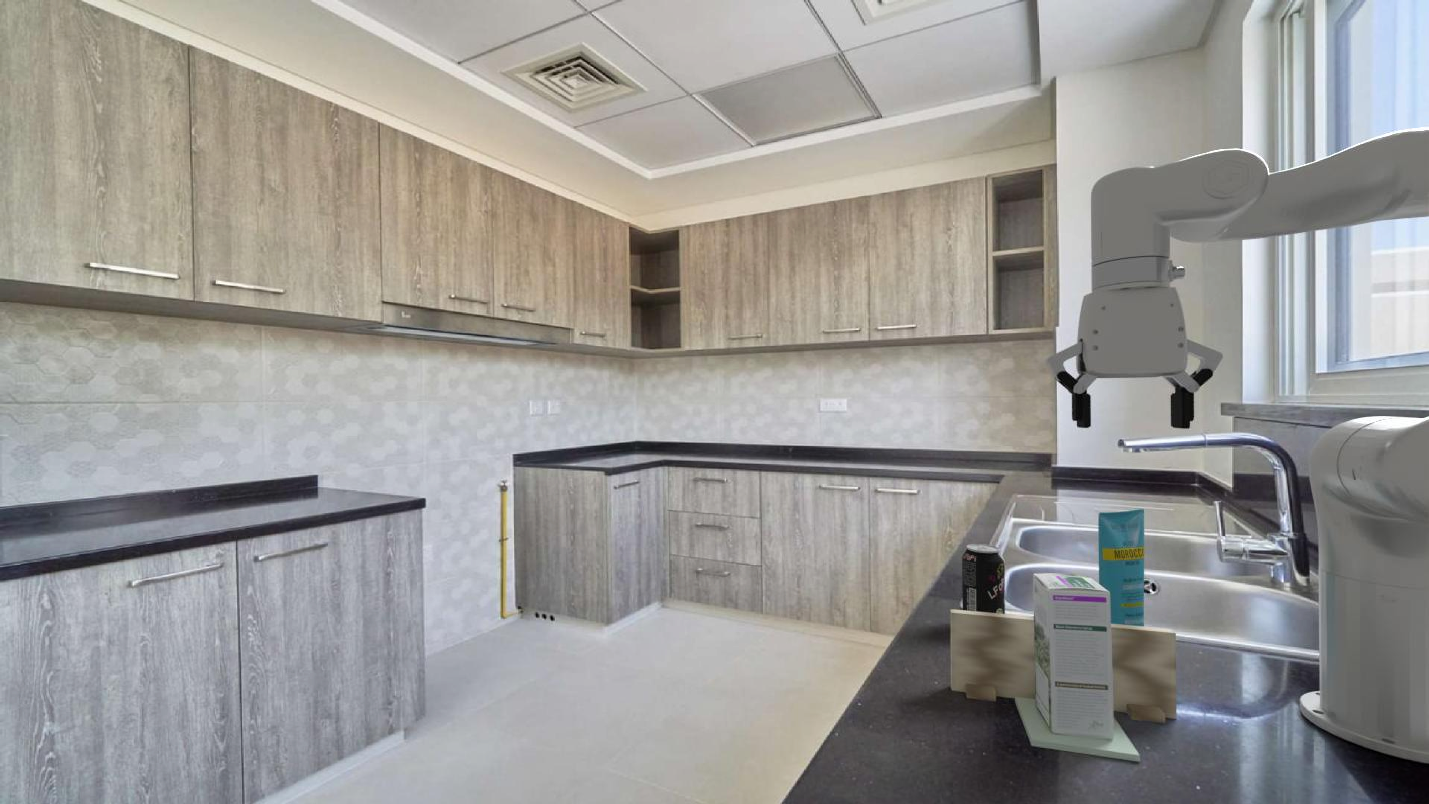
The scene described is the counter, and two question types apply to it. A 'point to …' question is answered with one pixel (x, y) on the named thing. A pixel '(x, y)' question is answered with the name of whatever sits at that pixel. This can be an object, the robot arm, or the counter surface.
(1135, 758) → the green pad
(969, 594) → the beverage can
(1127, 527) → the tube
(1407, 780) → the counter surface
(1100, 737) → the syrup box
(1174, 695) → the birch board
